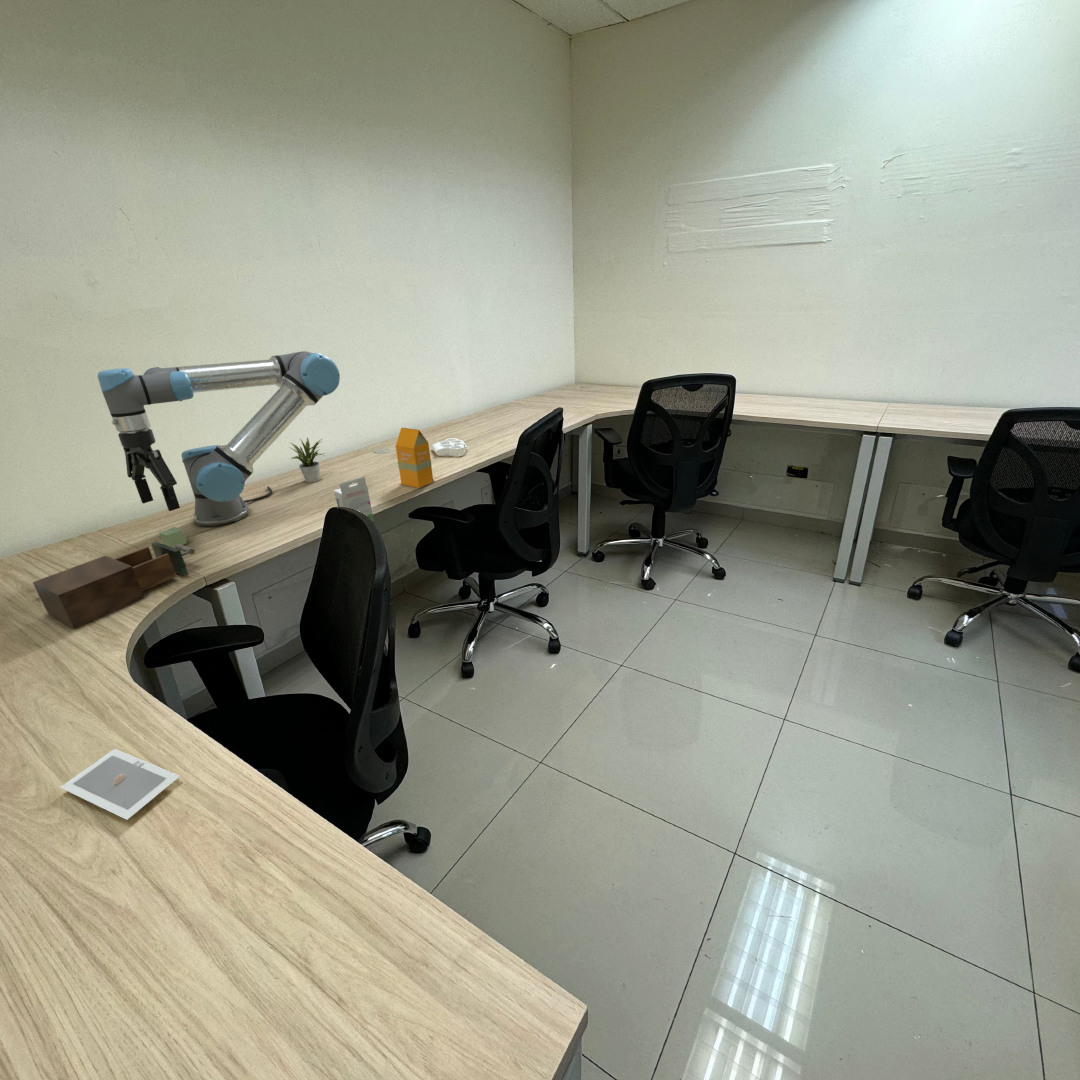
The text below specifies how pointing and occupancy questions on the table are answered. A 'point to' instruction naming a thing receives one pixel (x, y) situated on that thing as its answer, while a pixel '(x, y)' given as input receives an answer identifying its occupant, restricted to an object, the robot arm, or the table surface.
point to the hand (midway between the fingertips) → (160, 505)
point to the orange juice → (413, 458)
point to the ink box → (354, 496)
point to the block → (173, 537)
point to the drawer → (157, 563)
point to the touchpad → (120, 783)
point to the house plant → (308, 461)
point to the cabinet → (89, 591)
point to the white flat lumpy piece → (450, 447)
